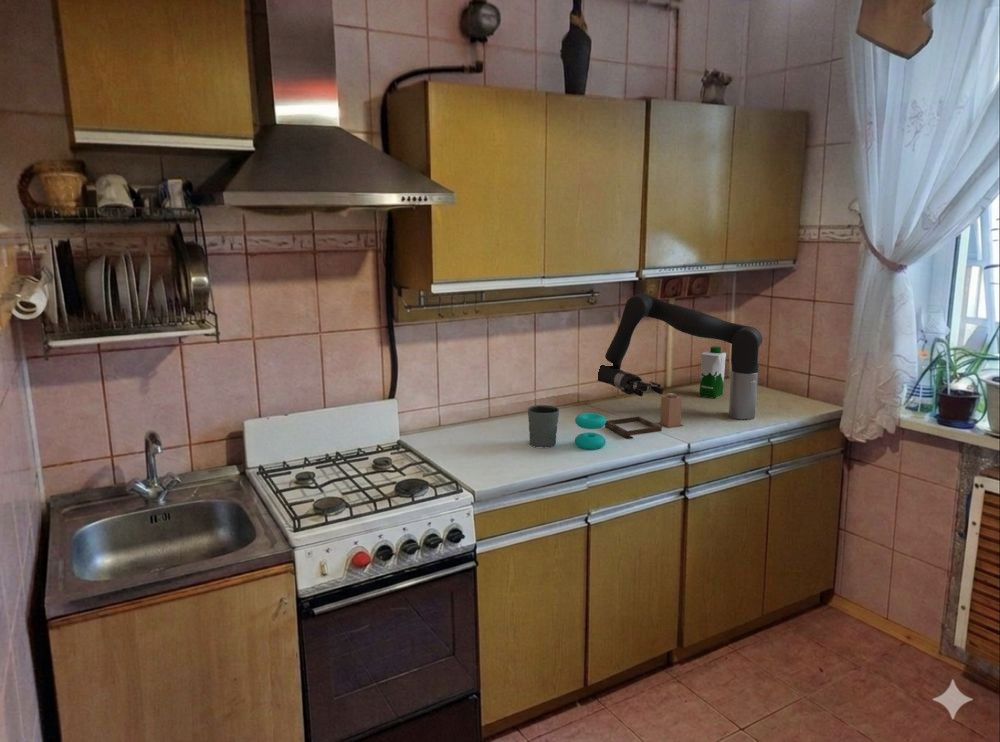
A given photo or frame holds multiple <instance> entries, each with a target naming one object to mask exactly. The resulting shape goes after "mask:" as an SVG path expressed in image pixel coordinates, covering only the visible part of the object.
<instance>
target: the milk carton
mask: <svg viewBox="0 0 1000 742" xmlns="http://www.w3.org/2000/svg"><path fill="white" fill-rule="evenodd" d="M726 355H727V352H723V351H722V347H721V346H710V350H707V351H704V352H701V353H700V359H701V364H700V365H701V366H700V381H699V382H700V383H699V395H701V396H700V397H703V396H707V397H706V398H709V397H713V398H712V399H715V398H716V397H718V396H720V395H722V394H724V387H725V386H724V385H725V371H726V369H725V365H726V359H727V358H726V357H727V356H726ZM722 396H723V395H722ZM720 397H721V396H720ZM718 398H719V397H718ZM716 399H717V398H716Z"/></svg>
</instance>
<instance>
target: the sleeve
mask: <svg viewBox="0 0 1000 742" xmlns="http://www.w3.org/2000/svg"><path fill="white" fill-rule="evenodd" d="M660 398H661V399H660V413H659V414H660V415H659V416H660V417H659V419H660V421H659V422H660V423H661V424H663V425H665V426H667V427H673V426H680V424H681V421H682V420H681V419H682V418H681V416H682V403H683V402H682V401H683V397H680V396H678V395H677V396H676V398H671V399H670V398H667V394H666V395H661V396H660Z"/></svg>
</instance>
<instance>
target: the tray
mask: <svg viewBox="0 0 1000 742" xmlns="http://www.w3.org/2000/svg"><path fill="white" fill-rule="evenodd" d="M635 422H639V423H641V424H643V425H644V426H647V427H646V428H644V427H643V428H638V429H632V430H627V429H624V428H623V427H621V426H619V425H620V424H627V423H629V424H630V423H635ZM662 427H663V426H662V425H659V424H657V423H654V422H652V421H650V420H648V419H645V418H643V417H641V416H633V417H632V416H631V417H625V418H617V419H611V420H606V424H605V425H604V428H605V429H607V430H608V431H611V432H612V431H613V433H614V434H616V435H617V436H620V437H622V438H624V439H626V440H628V439H633V438H634V437H633V436H637V435H644V434H652V433H657V432H662V431H663V430H662Z"/></svg>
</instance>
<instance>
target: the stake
mask: <svg viewBox="0 0 1000 742" xmlns="http://www.w3.org/2000/svg"><path fill="white" fill-rule="evenodd" d="M666 395H667V398H670V399H671V398H676V396H678V395H677V394H675V393H672V392H671V393H669V392H668V393H666ZM656 425H658V426H661V427H664V428H666V429H671V428H673V429H674V428H679V427H685V425H683V424H680V426H673V427H667V426H665V425H663V424H661V423H660V421H659V422H656Z"/></svg>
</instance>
